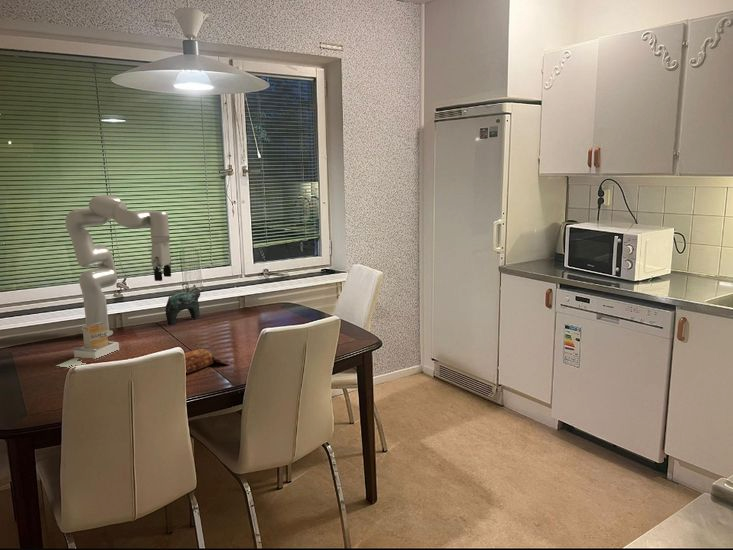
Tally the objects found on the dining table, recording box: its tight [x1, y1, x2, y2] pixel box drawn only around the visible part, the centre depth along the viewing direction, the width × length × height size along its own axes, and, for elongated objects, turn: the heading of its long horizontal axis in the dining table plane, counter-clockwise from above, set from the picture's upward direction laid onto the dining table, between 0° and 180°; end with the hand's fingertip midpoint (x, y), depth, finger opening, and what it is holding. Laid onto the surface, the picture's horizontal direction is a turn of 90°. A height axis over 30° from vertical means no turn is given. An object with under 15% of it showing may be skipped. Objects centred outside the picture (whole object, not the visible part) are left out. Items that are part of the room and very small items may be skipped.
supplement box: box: [81, 322, 109, 350], centre depth 236 cm, size 8×5×13 cm, turn 148°
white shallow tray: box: [72, 340, 120, 359], centre depth 237 cm, size 11×14×4 cm
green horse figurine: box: [165, 282, 201, 326], centre depth 287 cm, size 20×6×20 cm, turn 144°
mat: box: [55, 357, 86, 369], centre depth 225 cm, size 10×10×1 cm
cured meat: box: [185, 348, 231, 374], centre depth 219 cm, size 18×25×7 cm
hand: (163, 278), depth 244 cm, fingers open, 9 cm apart
